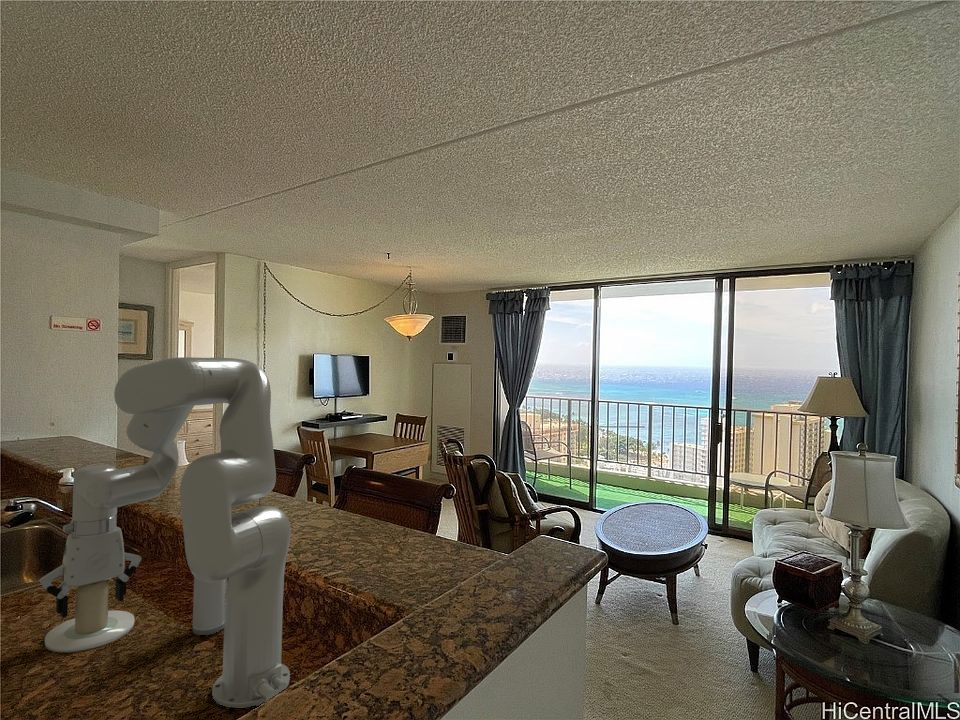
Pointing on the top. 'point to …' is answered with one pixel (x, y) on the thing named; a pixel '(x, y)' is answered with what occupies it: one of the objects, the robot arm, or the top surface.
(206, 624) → the travel mug
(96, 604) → the candle
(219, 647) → the top surface
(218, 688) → the robot arm
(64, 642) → the ceramic plate
